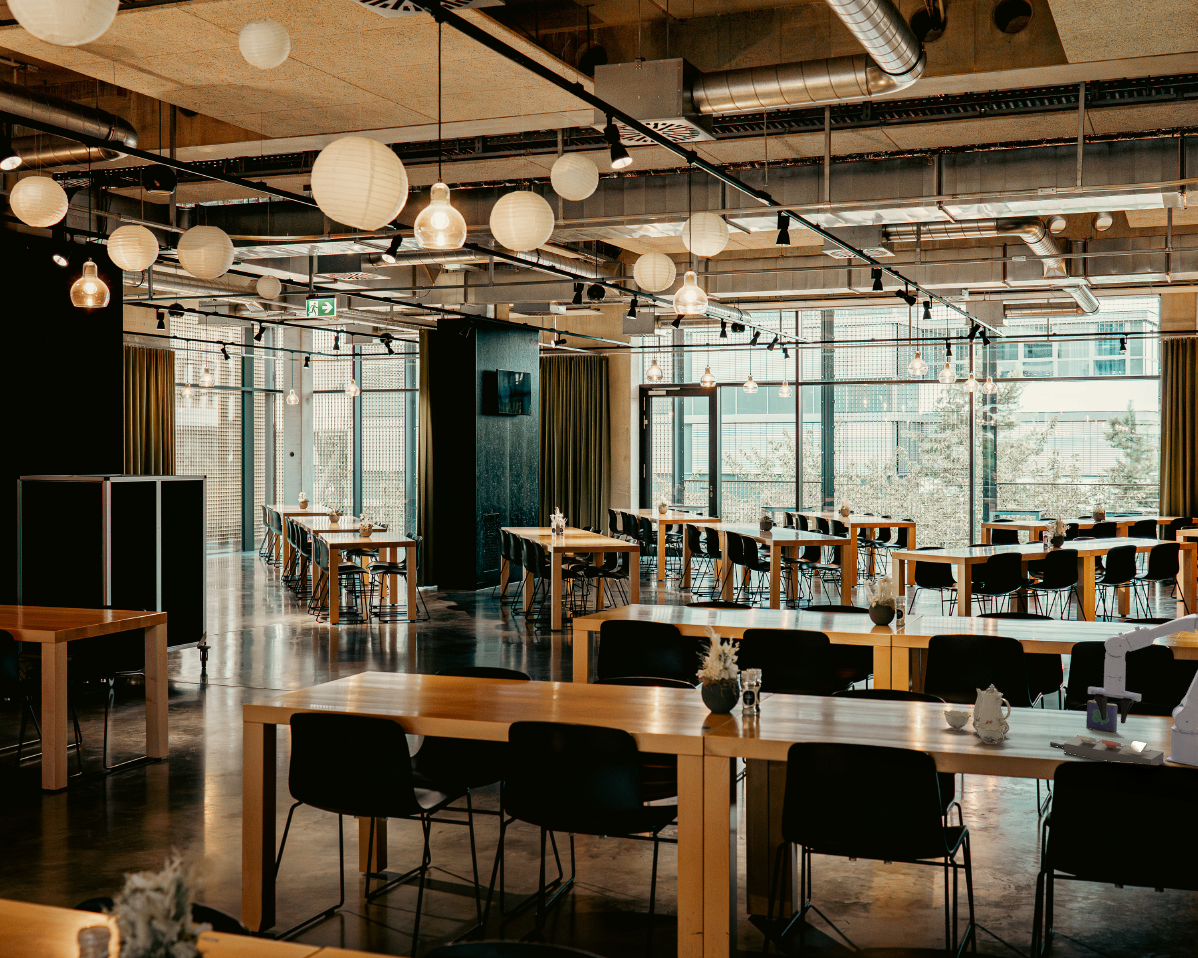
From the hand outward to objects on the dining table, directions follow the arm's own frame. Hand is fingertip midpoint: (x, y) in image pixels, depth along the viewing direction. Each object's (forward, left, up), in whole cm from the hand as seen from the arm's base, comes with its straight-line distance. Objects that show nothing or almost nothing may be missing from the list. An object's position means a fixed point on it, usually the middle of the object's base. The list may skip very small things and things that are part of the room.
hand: (1113, 721), depth 322 cm
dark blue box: (+12, -28, -10) cm, 32 cm away
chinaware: (+36, +9, -10) cm, 38 cm away
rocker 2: (-9, +8, -6) cm, 13 cm away
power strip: (+1, +6, -9) cm, 11 cm away
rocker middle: (-2, +8, -6) cm, 10 cm away
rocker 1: (+5, +8, -6) cm, 11 cm away
